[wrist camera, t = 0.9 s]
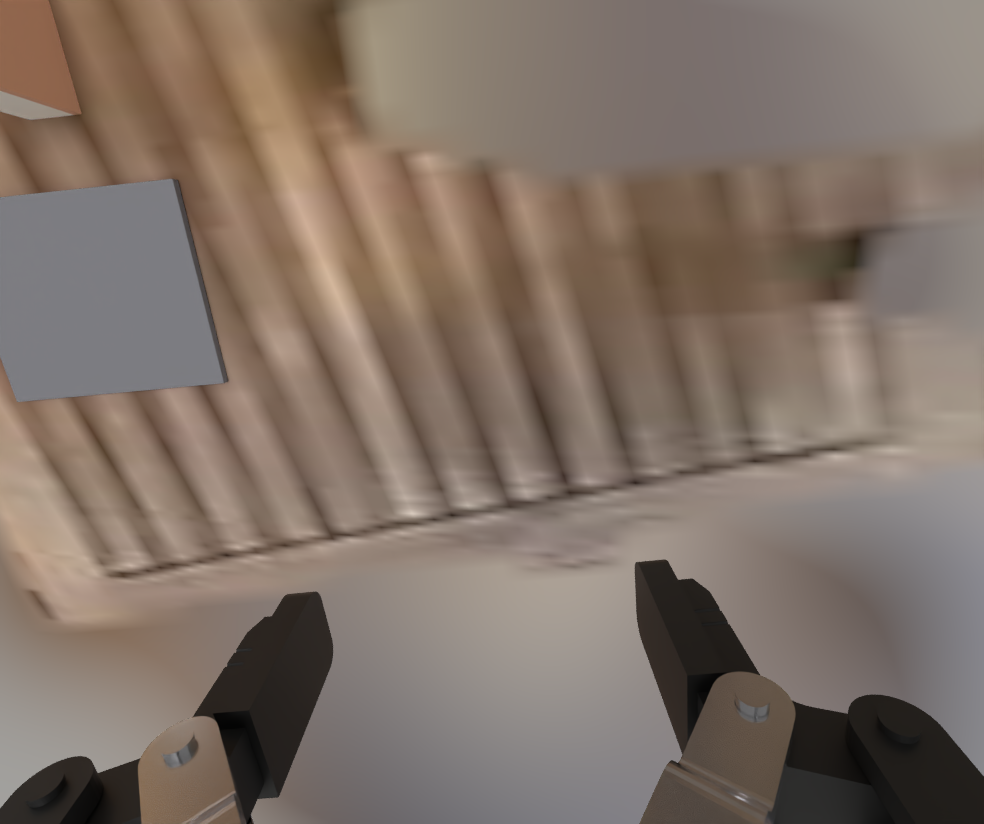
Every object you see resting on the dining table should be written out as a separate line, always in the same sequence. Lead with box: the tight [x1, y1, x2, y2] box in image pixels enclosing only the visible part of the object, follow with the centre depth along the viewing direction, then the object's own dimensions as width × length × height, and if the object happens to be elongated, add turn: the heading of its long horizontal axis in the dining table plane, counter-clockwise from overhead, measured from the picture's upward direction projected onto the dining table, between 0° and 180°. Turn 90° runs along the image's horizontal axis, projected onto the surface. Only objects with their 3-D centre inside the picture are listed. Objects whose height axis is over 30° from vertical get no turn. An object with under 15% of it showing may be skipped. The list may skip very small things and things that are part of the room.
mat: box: [0, 179, 228, 402], centre depth 37 cm, size 14×16×1 cm
